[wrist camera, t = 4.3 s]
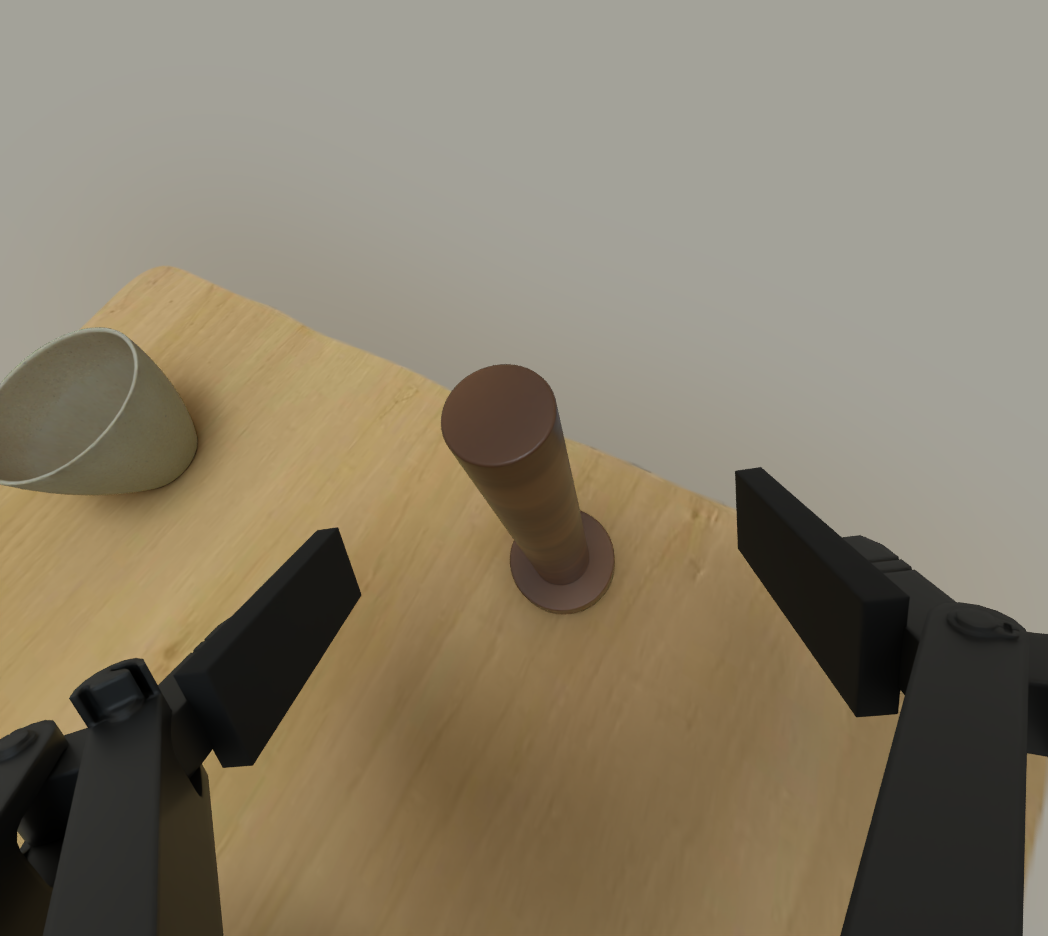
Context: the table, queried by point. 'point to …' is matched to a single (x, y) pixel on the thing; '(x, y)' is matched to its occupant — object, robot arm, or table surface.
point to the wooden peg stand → (529, 485)
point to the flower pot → (92, 419)
